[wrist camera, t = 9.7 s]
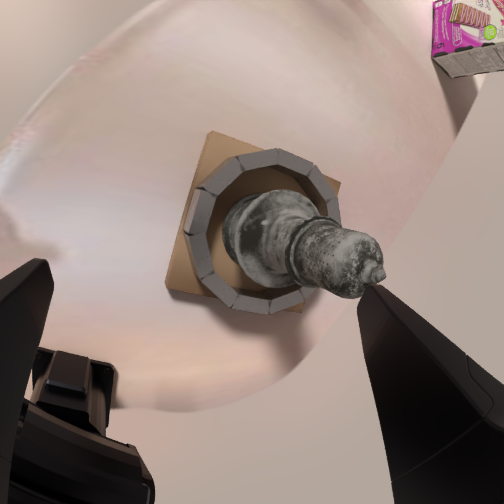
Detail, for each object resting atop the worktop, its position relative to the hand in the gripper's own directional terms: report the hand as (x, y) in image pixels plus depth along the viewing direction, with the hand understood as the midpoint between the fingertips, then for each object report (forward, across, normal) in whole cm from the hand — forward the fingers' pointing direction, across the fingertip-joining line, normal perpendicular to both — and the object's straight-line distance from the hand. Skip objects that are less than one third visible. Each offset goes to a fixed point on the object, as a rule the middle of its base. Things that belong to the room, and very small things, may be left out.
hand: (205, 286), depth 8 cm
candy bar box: (+30, -25, -16) cm, 42 cm away
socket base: (+14, -3, +6) cm, 15 cm away
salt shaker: (+13, -3, +6) cm, 14 cm away
